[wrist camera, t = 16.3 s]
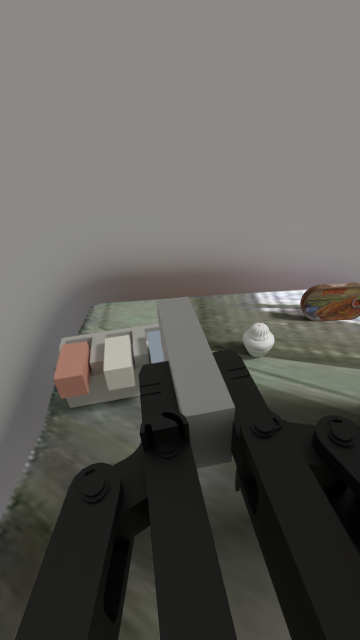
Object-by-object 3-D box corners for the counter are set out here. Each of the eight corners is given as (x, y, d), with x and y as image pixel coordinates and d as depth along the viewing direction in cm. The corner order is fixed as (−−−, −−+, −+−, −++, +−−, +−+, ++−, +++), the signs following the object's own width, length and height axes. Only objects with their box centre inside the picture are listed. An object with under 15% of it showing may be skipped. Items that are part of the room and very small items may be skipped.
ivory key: (132, 352, 52) (129, 334, 50) (135, 385, 45) (131, 366, 43) (109, 356, 51) (105, 338, 49) (108, 390, 45) (103, 371, 43)
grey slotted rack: (175, 359, 60) (172, 321, 55) (183, 388, 53) (180, 348, 48) (75, 375, 58) (61, 338, 52) (70, 408, 51) (54, 368, 46)
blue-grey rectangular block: (171, 346, 53) (170, 328, 50) (179, 378, 46) (178, 358, 44) (149, 350, 52) (146, 332, 50) (154, 382, 46) (151, 363, 43)
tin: (300, 322, 68) (307, 290, 64) (296, 314, 71) (302, 283, 66) (366, 319, 68) (378, 286, 63) (359, 311, 70) (370, 280, 66)
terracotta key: (92, 359, 51) (86, 341, 49) (88, 394, 44) (82, 374, 42) (68, 363, 50) (61, 345, 48) (61, 398, 44) (53, 379, 42)
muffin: (259, 367, 57) (263, 338, 53) (235, 352, 61) (236, 324, 57) (278, 352, 60) (283, 324, 56) (254, 339, 64) (257, 312, 60)
